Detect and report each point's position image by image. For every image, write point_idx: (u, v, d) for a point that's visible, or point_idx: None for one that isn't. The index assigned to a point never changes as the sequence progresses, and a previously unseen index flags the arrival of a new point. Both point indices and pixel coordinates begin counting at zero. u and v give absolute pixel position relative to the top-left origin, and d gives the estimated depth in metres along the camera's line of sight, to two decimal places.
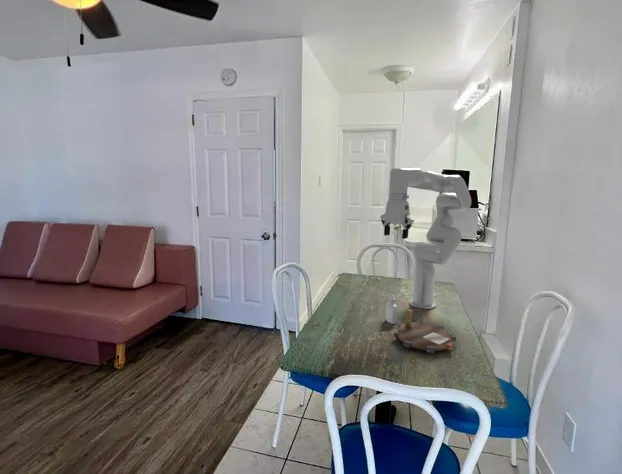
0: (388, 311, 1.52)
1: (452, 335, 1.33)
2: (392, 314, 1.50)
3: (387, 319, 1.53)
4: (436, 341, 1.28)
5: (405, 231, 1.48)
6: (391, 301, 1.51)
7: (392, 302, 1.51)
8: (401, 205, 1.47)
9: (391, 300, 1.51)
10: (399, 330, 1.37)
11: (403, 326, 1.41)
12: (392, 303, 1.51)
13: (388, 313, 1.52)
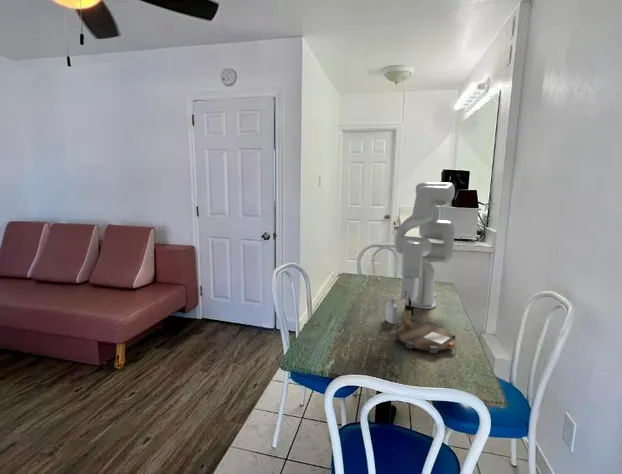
0: (388, 311, 1.52)
1: (451, 334, 1.34)
2: (392, 314, 1.50)
3: (387, 319, 1.53)
4: (438, 341, 1.28)
5: None
6: (391, 301, 1.51)
7: (392, 302, 1.51)
8: None
9: (391, 300, 1.51)
10: (399, 331, 1.36)
11: (402, 327, 1.40)
12: (392, 303, 1.51)
13: (388, 313, 1.52)
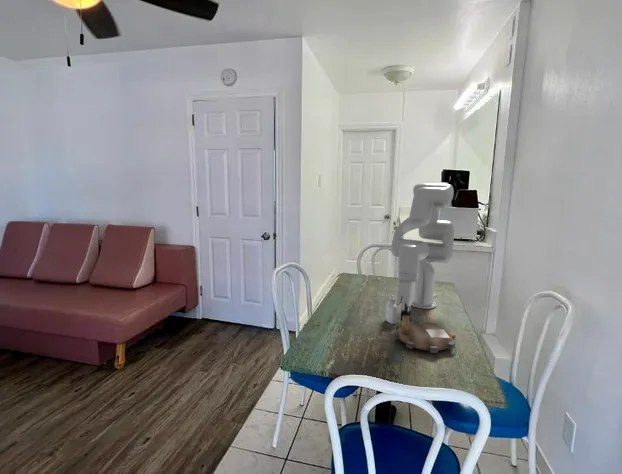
0: (388, 311, 1.52)
1: (437, 325, 1.42)
2: (392, 314, 1.50)
3: (387, 319, 1.53)
4: (444, 336, 1.32)
5: None
6: (391, 301, 1.51)
7: (392, 302, 1.51)
8: None
9: (391, 300, 1.51)
10: (408, 340, 1.29)
11: (401, 334, 1.34)
12: (392, 303, 1.51)
13: (388, 313, 1.52)
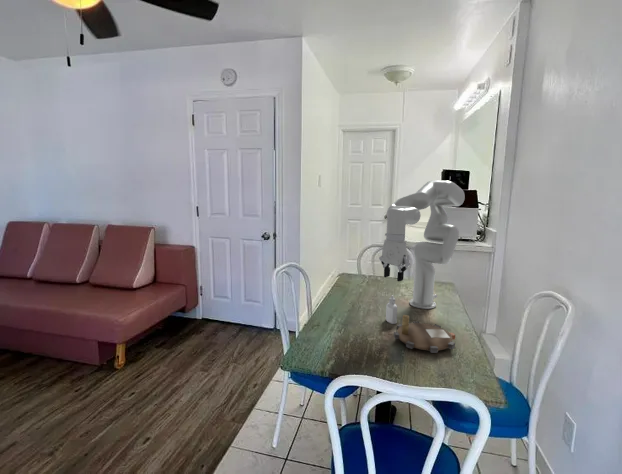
0: (388, 311, 1.52)
1: (437, 325, 1.42)
2: (392, 314, 1.50)
3: (387, 319, 1.53)
4: (444, 336, 1.32)
5: None
6: (391, 301, 1.51)
7: (392, 302, 1.51)
8: None
9: (391, 300, 1.51)
10: (408, 340, 1.29)
11: (401, 334, 1.34)
12: (392, 303, 1.51)
13: (388, 313, 1.52)
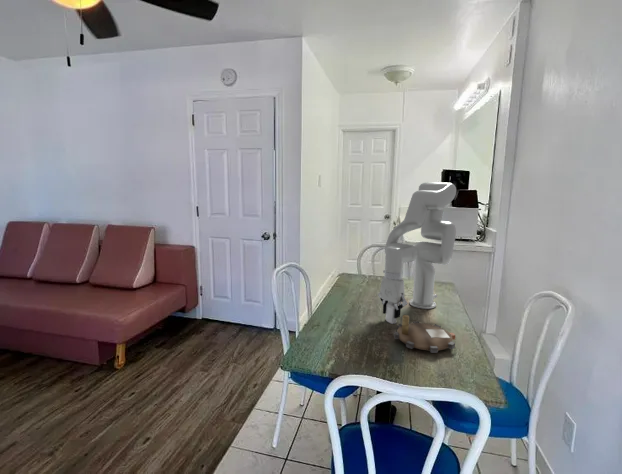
0: (388, 311, 1.52)
1: (437, 325, 1.42)
2: (392, 314, 1.50)
3: (387, 319, 1.53)
4: (444, 336, 1.32)
5: None
6: None
7: None
8: None
9: None
10: (408, 340, 1.29)
11: (401, 334, 1.34)
12: (392, 303, 1.51)
13: (388, 313, 1.52)
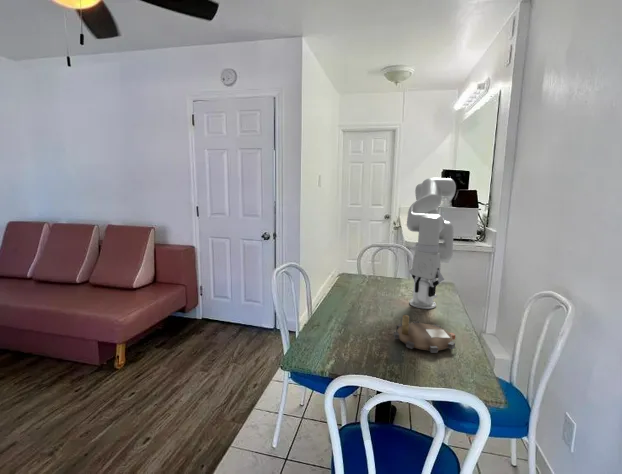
0: (421, 289, 1.36)
1: (437, 325, 1.42)
2: (425, 292, 1.34)
3: (419, 298, 1.37)
4: (444, 336, 1.32)
5: None
6: None
7: (425, 279, 1.35)
8: None
9: None
10: (408, 340, 1.29)
11: (401, 334, 1.34)
12: (425, 280, 1.35)
13: (421, 291, 1.36)
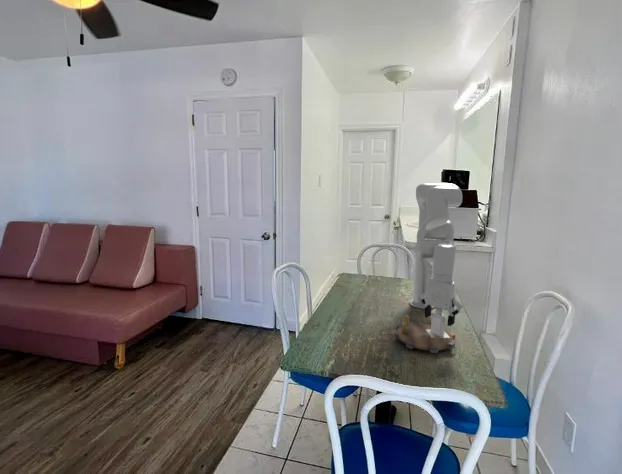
0: (434, 322, 1.33)
1: None
2: (439, 325, 1.31)
3: (433, 331, 1.34)
4: (444, 336, 1.32)
5: None
6: (438, 310, 1.32)
7: (439, 311, 1.32)
8: None
9: (438, 309, 1.32)
10: (408, 340, 1.29)
11: (401, 334, 1.34)
12: (439, 312, 1.32)
13: (434, 324, 1.33)
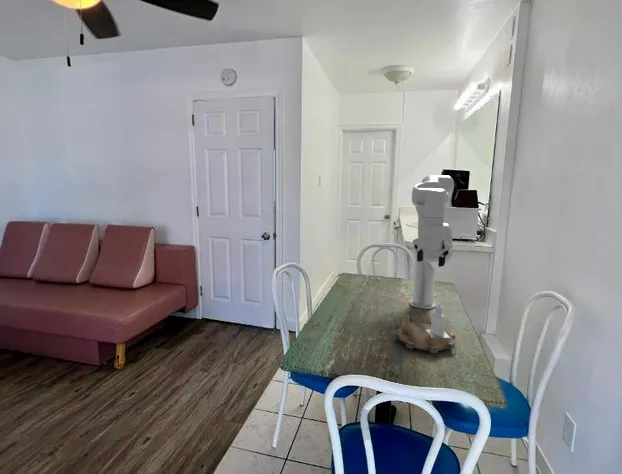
0: (434, 322, 1.33)
1: None
2: (439, 325, 1.31)
3: (433, 331, 1.34)
4: (444, 336, 1.32)
5: None
6: (438, 310, 1.32)
7: (439, 311, 1.32)
8: None
9: (438, 309, 1.32)
10: (408, 340, 1.29)
11: (401, 334, 1.34)
12: (439, 312, 1.32)
13: (434, 324, 1.33)
